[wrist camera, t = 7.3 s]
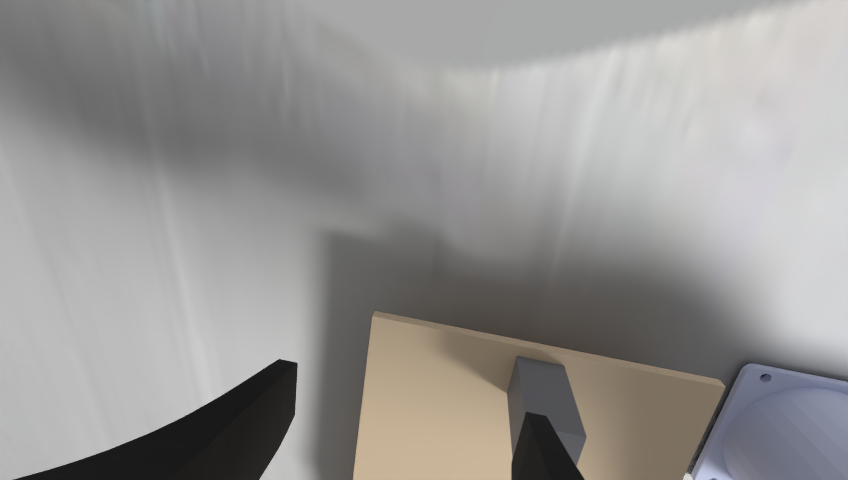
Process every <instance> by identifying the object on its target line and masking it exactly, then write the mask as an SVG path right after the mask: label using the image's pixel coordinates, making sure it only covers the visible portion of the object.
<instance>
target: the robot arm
mask: <svg viewBox="0 0 848 480" xmlns="http://www.w3.org/2000/svg"><path fill="white" fill-rule="evenodd" d="M297 364H298V363H295V362H291V361H286V360H281V359H279V360H277V361H275V362H274V363H272V364H271V365H269V366H267V367H266V368H264V369H263V370H261V371H260V372H258V373H257V374H255V375H254V376H252V377H251V378H249V379H247V380H246V381H244V382H243V383H241V384H240V385H238V386H236V387H235V388H233V389H232V390H230V391H228V392H227V393H225V394H224V395H222V396H220V397H219V398H217V399H215V400H213V401H212V402H210V403H208V404H206V405H204V406H203V407H201V408H199V409H197V410H196V411H194V412H192V413H190V414H188V415H186V416H185V417H183V418H181V419H179V420H177V421H175V422H173V423H170V424H168V425H166V426H164V427H162V428H160V429H158V430H156V431H153V432H151V433H149V434H147V435H144V436H142V437H139V438H137V439H134V440H132V441H129V442H127V443H125V444H122V445H120V446H117V447H115V448H112V449H110V450H107V451H104V452H102V453H99V454H96V455H93V456H90V457H87V458H85V459H82V460H79V461H75V462H72V463H69V464H66V465H63V466H60V467H57V468H53V469H50V470H47V471H43V472H40V473H36V474H32V475H29V476H25V477H21V478H18V479H14V480H259V479H260V477H261V476H262V474H263V473H264V471H265V469H266V468H267V466H268V465H269V463H270V461H271V460H272V458H273V456H274V455H275V453H276V452H277V450H278V448H279V447H280V445H281V443H282V441H283V439H284V437H285V435H286V433H287V431H288V428H289V426H290V424H291V422H292V420H293V418H294V415H295V402H296V383H297ZM763 374H766V375H765V376H764V377H762V378H760V377H761V375H763ZM691 476H692V479H693V480H848V382H846V381H841V380H836V379H831V378H826V377H821V376H816V375H811V374H805V373H800V372H795V371H790V370H785V369H780V368H775V367H770V366H764V365H759V364H747V365H745V366H744V367H743V368H742V369H741V370H740V372H739V375H738V377H737V379H736V381H735V383H734V385H733V387H732V389H731V391H730V393H729V395H728V398H727V400H726V402H725V404H724V406H723V408H722V410H721V412H720V414H719V416H718V419H717V421H716V423H715V425H714V427H713V429H712V431H711V433H710V435H709V437H708V439H707V442H706V444H705V446H704V448H703V450H702V452H701V454H700V456H699V458H698V460H697V462H696V465H695V467H694V469H693V471H692V473H691ZM712 478H713V479H712ZM511 480H585V479H584V478H583V476H582V474H581V473H580V471H579V470H578V468H577V467H576V465H575V463H574V462H573V460H572V459H571V457H570V455H569V454H568V452H567V450H566V448H565V447H564V445H563V443H562V442H561V440H560V438H559V437H558V435H557V433H556V431H555V430H554V428H553V426H552V424H551V423H550V421H549V419H548V418H547V416H544V415H540V414H535V413H530V412H526V413H525V417H524V420H523V424H522V428H521V431H520V435H519V438H518V442H517V445H516V449H515V452H514V456H513V459H512V463H511Z"/></svg>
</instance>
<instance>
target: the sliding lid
mask: <svg viewBox="0 0 848 480" xmlns="http://www.w3.org/2000/svg"><path fill="white" fill-rule="evenodd" d="M725 388H726V387H725V385H724V384H723V383H722V382H721V381H720V380H719V379H715V378H710V377H705V376H700V375H695V374H690V373H685V372H680V371H675V370H670V369H665V368H660V367H655V366H650V365H645V364H640V363H635V362H630V361H625V360H620V359H615V358H609V357H604V356H599V355H594V354H589V353H584V352H579V351H574V350H569V349H564V348H559V347H554V346H549V345H544V344H539V343H534V342H529V341H524V340H519V339H514V338H509V337H504V336H499V335H494V334H489V333H484V332H479V331H474V330H469V329H464V328H459V327H454V326H449V325H444V324H439V323H434V322H429V321H424V320H419V319H414V318H409V317H404V316H399V315H394V314H389V313H384V312H379V311H375V312H374V314H373V316H372V322H371V331H370V339H369V348H368V356H367V364H366V373H365V381H364V389H363V398H362V406H361V414H360V423H359V431H358V440H357V448H356V456H355V465H354V473H353V480H511V463H512V459H513V456H514V452H515V449H516V445H517V442H518V438H519V435H520V431H521V428H522V424H523V420H524V417H525V413H526V412H530V413H535V414H540V415H544V416H547V418H548V419H549V421H550V423H551V424H552V426H553V428H554V430H555V431H556V433H557V435H558V437H559V438H560V440H561V442H562V443H563V445H564V447H565V448H566V450H567V452H568V454H569V455H570V457H571V459H572V460H573V462H574V463H575V465H576V467H577V468H578V470H579V471H580V473H581V474H582V476H583V478H584V479H585V480H682V479H683V477H684V475H685V473H686V471H687V469H688V467H689V464H690V462H691V460H692V458H693V456H694V454H695V452H696V450H697V448H698V445H699V443H700V441H701V439H702V437H703V435H704V433H705V431H706V428H707V426H708V424H709V422H710V420H711V418H712V416H713V414H714V411H715V409H716V407H717V405H718V403H719V401H720V399H721V397H722V394H723V392H724V390H725Z"/></svg>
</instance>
